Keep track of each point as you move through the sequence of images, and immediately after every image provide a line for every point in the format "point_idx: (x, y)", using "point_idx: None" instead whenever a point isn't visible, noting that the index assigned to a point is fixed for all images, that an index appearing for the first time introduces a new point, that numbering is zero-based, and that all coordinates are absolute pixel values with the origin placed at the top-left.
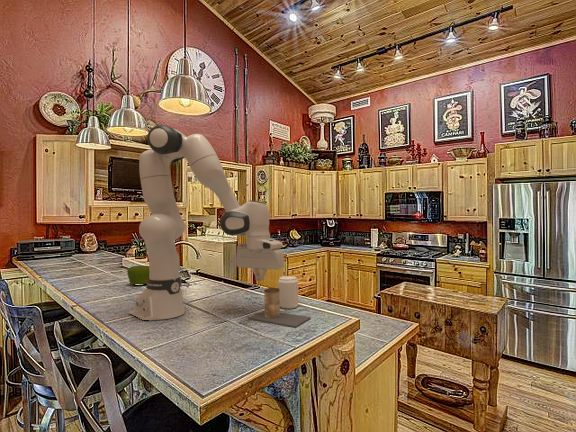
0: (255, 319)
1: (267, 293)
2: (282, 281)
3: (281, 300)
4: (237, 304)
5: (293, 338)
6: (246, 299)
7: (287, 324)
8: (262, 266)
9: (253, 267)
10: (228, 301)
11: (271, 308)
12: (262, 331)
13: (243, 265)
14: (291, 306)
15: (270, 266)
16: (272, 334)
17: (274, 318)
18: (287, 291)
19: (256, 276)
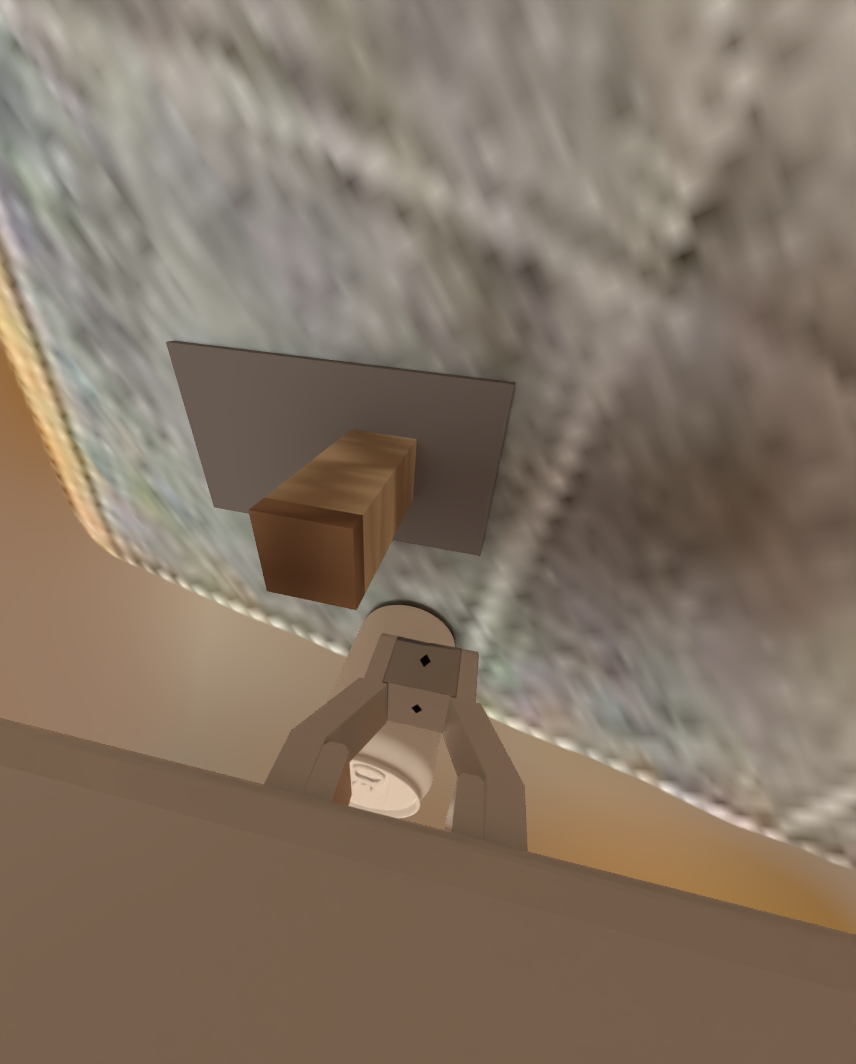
0: (449, 375)
1: (330, 505)
2: (370, 743)
3: (412, 635)
4: (713, 629)
5: (43, 131)
6: (683, 705)
7: (219, 353)
8: (205, 830)
9: (474, 854)
10: (802, 669)
11: (343, 452)
12: (278, 157)
13: (820, 994)
14: (371, 615)
15: (2, 788)
16: (184, 130)
17: (347, 430)
18: (358, 676)
19: (454, 685)
